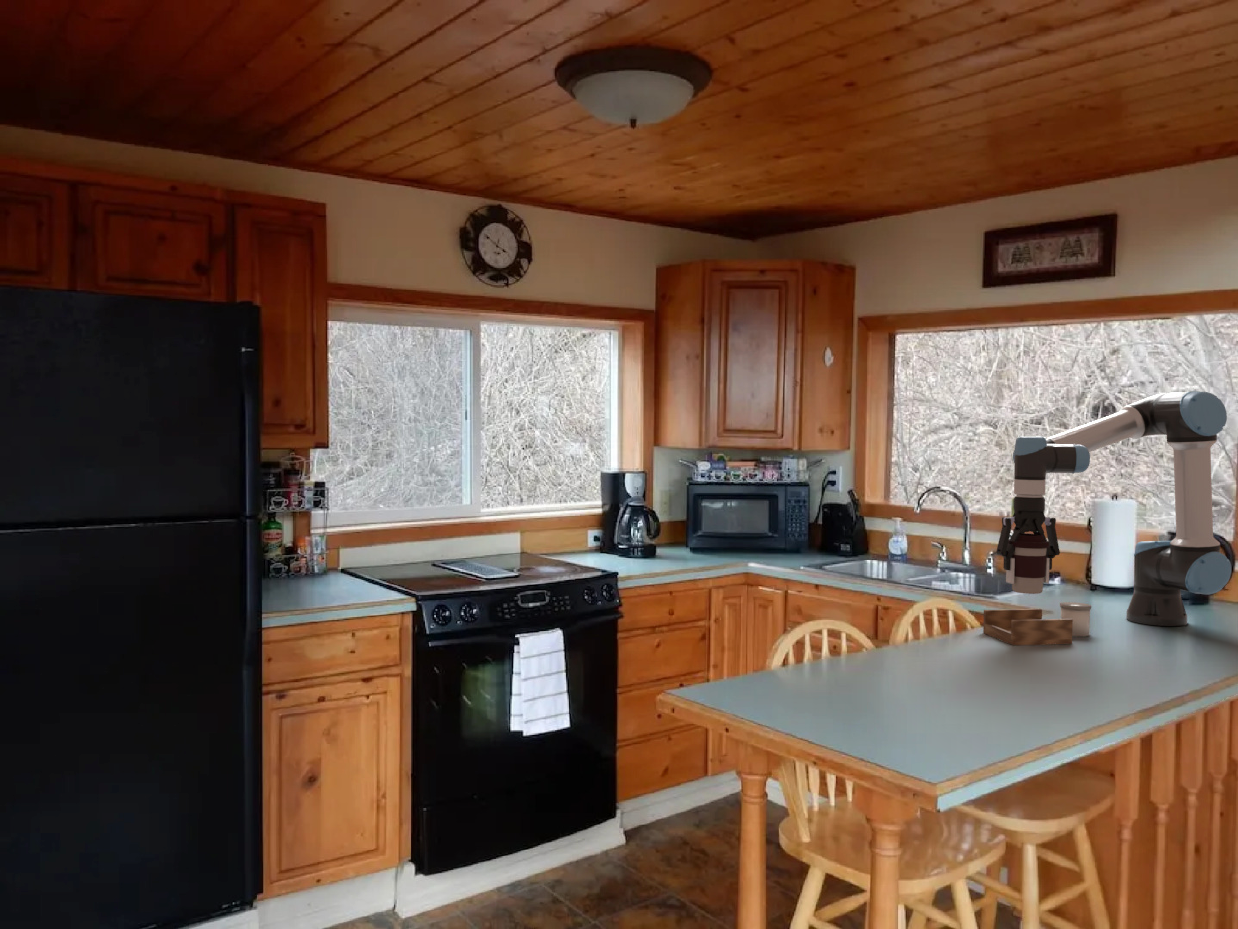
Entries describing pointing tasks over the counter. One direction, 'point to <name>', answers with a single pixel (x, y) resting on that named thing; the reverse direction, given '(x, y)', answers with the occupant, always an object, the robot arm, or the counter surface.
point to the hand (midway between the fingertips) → (1027, 582)
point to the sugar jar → (1077, 617)
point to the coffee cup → (1029, 563)
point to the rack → (1026, 627)
